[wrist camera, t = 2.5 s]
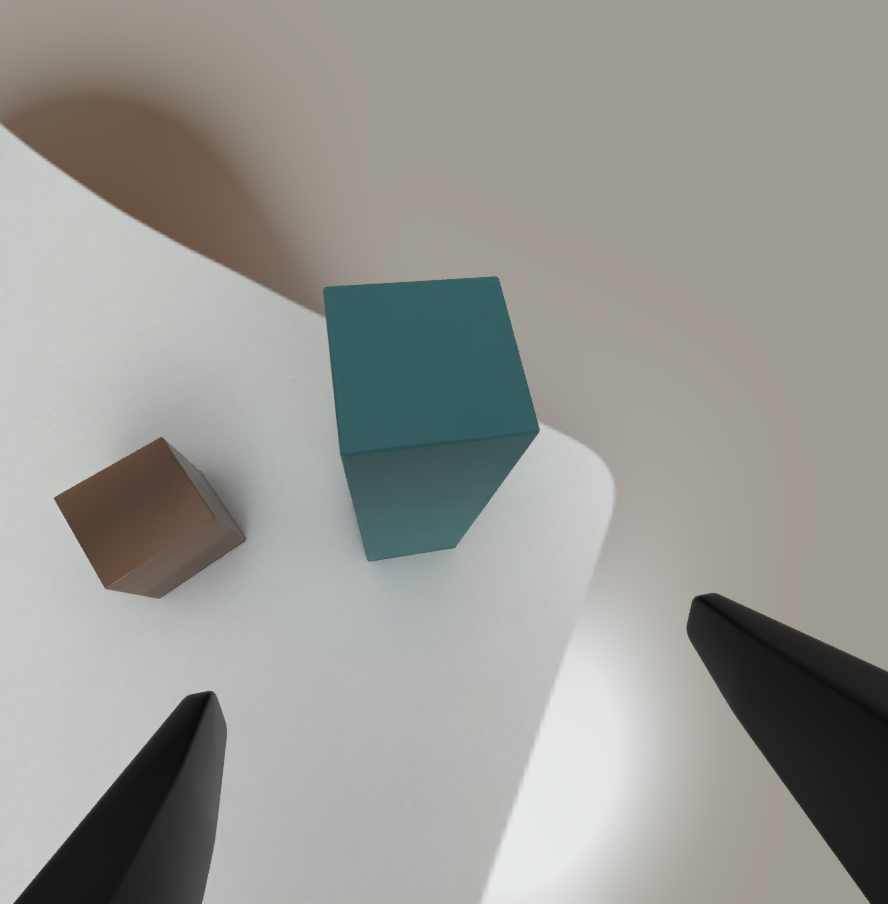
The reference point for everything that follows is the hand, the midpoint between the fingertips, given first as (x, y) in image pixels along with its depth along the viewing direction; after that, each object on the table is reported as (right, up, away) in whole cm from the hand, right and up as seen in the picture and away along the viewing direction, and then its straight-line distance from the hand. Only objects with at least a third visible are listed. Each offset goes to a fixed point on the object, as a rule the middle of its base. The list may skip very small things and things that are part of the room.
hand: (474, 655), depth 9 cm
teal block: (-2, +1, +13) cm, 13 cm away
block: (-12, 0, +12) cm, 17 cm away
